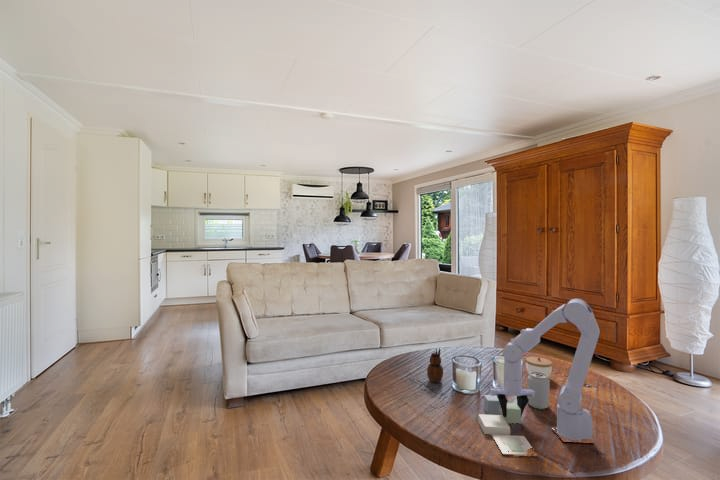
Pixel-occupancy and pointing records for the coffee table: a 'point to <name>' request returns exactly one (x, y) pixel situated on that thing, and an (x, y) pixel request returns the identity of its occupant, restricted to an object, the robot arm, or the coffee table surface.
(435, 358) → the wooden figurine
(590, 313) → the robot arm
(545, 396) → the can
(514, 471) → the coffee table surface
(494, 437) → the tile
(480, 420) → the white square slab
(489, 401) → the slate block
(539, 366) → the lidded jar
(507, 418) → the sage block
